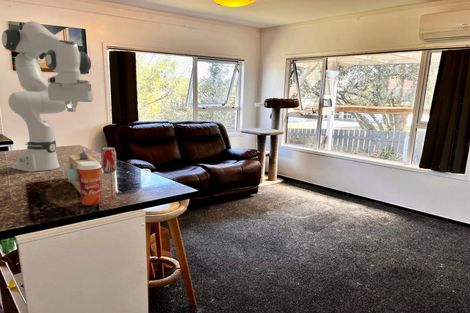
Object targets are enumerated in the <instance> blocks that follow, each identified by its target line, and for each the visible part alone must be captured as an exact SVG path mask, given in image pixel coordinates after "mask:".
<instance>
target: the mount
mask: <svg viewBox="0 0 470 313" xmlns="http://www.w3.org/2000/svg"><path fill="white" fill-rule="evenodd" d="M87 161H95V162H99V163H100V164H101V165H102V162H100V161H99V160H97V159H96V158H94V157H93V156H92V155H90V154H89V153H88V159H87V160H80V154H71V155H68V163H71V165H72V169H77V166H78V163H81V162H87ZM101 169H102V167H101V168H100V193H102V192H103V176H102V171H101ZM77 171H78V169H77ZM70 183H71V184H72V185H73V187H74V188H75V189H76V190H77V191H78V192H79V194H81V191H80V183H79V178H78V181H76V182H70Z"/></svg>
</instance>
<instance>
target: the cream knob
mask: <svg viewBox="0 0 470 313" xmlns="http://www.w3.org/2000/svg"><path fill="white" fill-rule="evenodd" d="M71 169H72V165H71V163H69V162H66V163H65V162H64V163H61V171H62V175H63V176H66V175H67V176H68V170H71Z"/></svg>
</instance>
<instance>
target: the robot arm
mask: <svg viewBox="0 0 470 313" xmlns="http://www.w3.org/2000/svg"><path fill="white" fill-rule="evenodd" d="M1 43H2V46H3V48H4V49H5V50H7V51H10V52H15V53H18V54H17V55H16V56H15V58H14V66H15V71H16V76H17V78H18V82H19V84H20V86H21V88H23V91H17V92H13V93H10V95H9V97H8V101H7V102H8V106H9V108H10V110H11V111H12V112H14V113H15V114H17V115H18V116H19V117H21V119H23V120H24V123H25V125H26V126H27V131H28V139H29V141H28V142H26V143H25V146H27V147H26V149H25V150H24V151H22V152H21V153H20V154H19V155H17V157H16V164H14V165H12V166H11V169H13V170H19V171H23V172H31V173H32V172H37V171H40V172H43V171H49V170H50V171H51V170H52V171H53V170H56V169H59V168H60V167H61V166H60V163H59V160H58V155H57V150H56V148H57V143H56V139H55V126H54V125H53V124H52V123H51V122H49V121H47V120H44V119H42V118H41V115H44V114H59V113H63V112H65V111H67V112H69V113H76V110H77V106H78V105H79V103H78V102H80V103H92V102H93V100H94V95H93V94H94V93H93V88H92V83H91V82H90V81H89V80H87V79H86V80H83V79H82V78H81V77H82V76H81V75H86V74H87V73H88V72H89V71H90V70H91V68H92V60H91V58H90V57H89V55H88V54H87V53H86V52H84V51H80V50H79V47H78V46H79V45H78V44H77V43H76V42H74V41H69V40H64V39H62V38H60V37H58V36H56V35H55V34H54V33H53V32H51V31H50V30H49V29H47V28H46V27H45V26H44V25H43V24H41V23H40V22H36V21H32V20H31V21H30V20H29V21H26V23H24V24H23V26H22V29H17V28H10V29H9V28H8V29H5V30H3V32H2V34H1ZM44 59H45V65H46V67H47V68H48V69H49V70H50V71H51V72H57V74H55V75H54V76H51V77H48V78H47V81H46V79H45V76H44V75H43V72H42V69H41V67H40V66H41V65H40V63H39V60H44Z"/></svg>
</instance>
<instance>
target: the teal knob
mask: <svg viewBox="0 0 470 313" xmlns="http://www.w3.org/2000/svg"><path fill="white" fill-rule="evenodd" d="M101 171H102V177H103V176H104V175H105V174H104V173H105V172H104V171H103V169H102V168H101ZM78 178H79V174H78V171H77V169H71V170H68V175H67V180H68V183H71V182H76V181H78Z"/></svg>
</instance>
